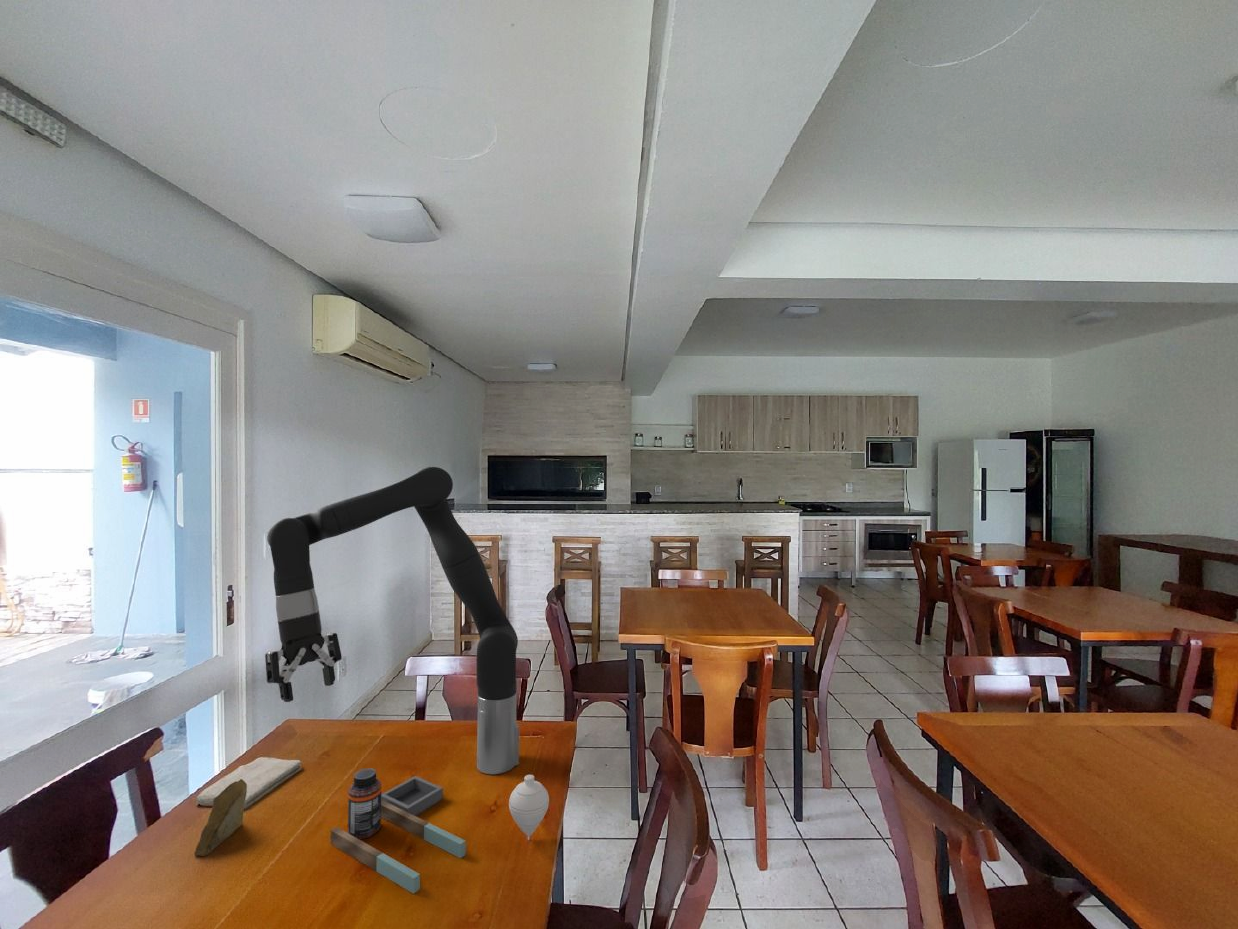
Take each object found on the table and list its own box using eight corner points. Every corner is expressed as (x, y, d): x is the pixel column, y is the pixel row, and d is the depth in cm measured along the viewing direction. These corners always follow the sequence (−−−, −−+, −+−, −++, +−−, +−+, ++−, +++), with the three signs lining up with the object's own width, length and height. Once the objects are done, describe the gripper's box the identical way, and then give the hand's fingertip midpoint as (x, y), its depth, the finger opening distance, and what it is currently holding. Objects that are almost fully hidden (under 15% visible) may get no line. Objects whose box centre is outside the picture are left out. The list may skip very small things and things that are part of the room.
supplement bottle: (354, 822, 111) (355, 765, 112) (385, 821, 112) (386, 764, 112) (342, 842, 106) (343, 781, 106) (374, 840, 106) (375, 780, 106)
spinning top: (555, 832, 109) (556, 770, 109) (537, 857, 102) (537, 791, 102) (520, 824, 111) (521, 763, 112) (500, 848, 104) (501, 783, 104)
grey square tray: (379, 807, 117) (379, 795, 117) (415, 787, 124) (415, 776, 124) (407, 821, 112) (407, 808, 112) (442, 799, 120) (442, 787, 120)
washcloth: (304, 769, 133) (305, 756, 133) (244, 813, 115) (245, 798, 115) (260, 765, 134) (260, 752, 134) (194, 808, 117) (194, 793, 117)
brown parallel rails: (330, 843, 105) (330, 830, 105) (383, 813, 115) (383, 800, 115) (376, 871, 98) (376, 857, 98) (429, 836, 107) (429, 823, 107)
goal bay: (376, 871, 98) (376, 857, 98) (428, 836, 107) (429, 823, 107) (413, 894, 92) (413, 878, 92) (465, 854, 102) (465, 841, 102)
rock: (208, 852, 99) (264, 814, 108) (186, 809, 100) (243, 775, 109) (185, 871, 103) (241, 833, 112) (165, 829, 105) (222, 795, 114)
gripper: (320, 607, 123) (331, 680, 122) (252, 624, 110) (263, 707, 109) (341, 604, 119) (352, 680, 118) (272, 622, 107) (284, 707, 105)
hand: (309, 693), depth 114 cm, fingers open, 8 cm apart
